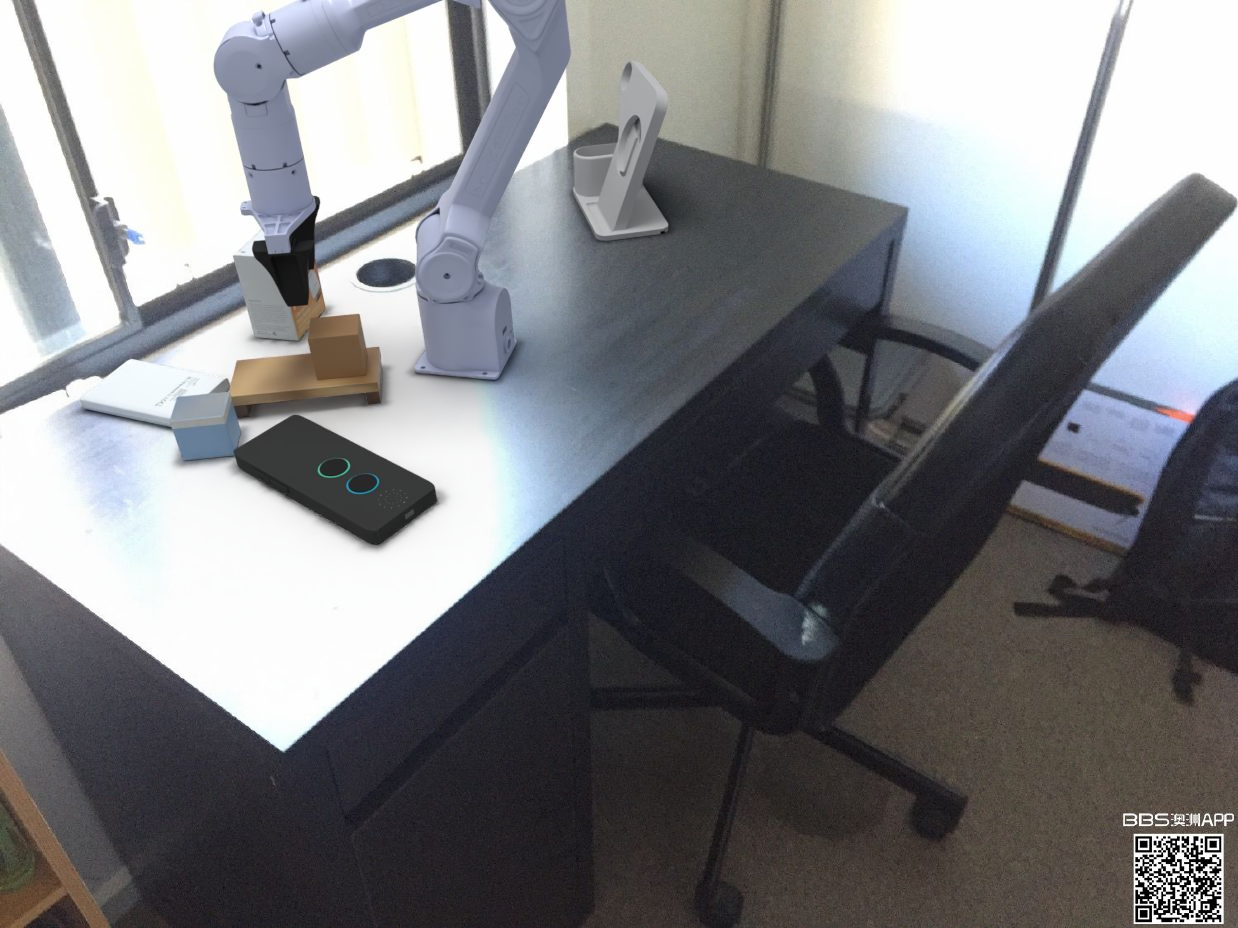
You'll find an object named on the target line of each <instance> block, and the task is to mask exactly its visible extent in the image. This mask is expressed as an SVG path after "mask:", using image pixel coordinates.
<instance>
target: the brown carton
mask: <svg viewBox="0 0 1238 928" xmlns="http://www.w3.org/2000/svg"><path fill="white" fill-rule="evenodd" d="M307 332H308V333H307V344H308V348H309V353H311V356H312V361H313V365H314V369H315V373H316V377H317V380H323V379H333V378H344V377H354V376H364V375H366V369H367V349H366V348H367V345H366V340H365V334H364V329H363V325H362V319H361V314H360V313H351V314H340V315H339V314H338V315H331V316H330V315H329V316H328V315H327V316H318V318H311V319H310V325H309V328H308V331H307Z"/></svg>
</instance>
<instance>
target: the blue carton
mask: <svg viewBox="0 0 1238 928" xmlns="http://www.w3.org/2000/svg"><path fill="white" fill-rule="evenodd" d="M238 419H239V418H237V416H236V412H235V409H234V406H233V402H232V399H231V395H230V392H229V391H227V392H220V393H210V394H200V395H190V396H180V397H177V399H176V402H175V405H174V409H173V412H172V415H171V418H170V421H169V422H170V424H171V427H170V428H171V430H172V433H173V436H174V438H175V441H176V444H177V447H178V450H179V453H180V456H181V458H182V461H184V462H185V461H194V460H202V459H203V460H205V459H214V458H222V457H231V456H235V455H234V450H235V449H237V448H238V447H239V446H238V445H239V441H240V437H241V432H242V429H241V425H240V422H239V420H238Z"/></svg>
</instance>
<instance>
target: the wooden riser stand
mask: <svg viewBox="0 0 1238 928" xmlns="http://www.w3.org/2000/svg"><path fill="white" fill-rule="evenodd" d="M366 349H367V369H366V375H364V376H354V377H344V378H333V379H323V380H317V377H316V373H315V369H314V365H313V361H312V356H311V352H309V353H300V354H299V353H298V354H289V355H279V356H267V357H258V358H257V357H256V358H248V359H238V360H236V362H235V366H234V370H233V373H232V378H231V382H230V388H229V389H228V392H230V395H231V399H232V402H233V406H234V409H235V412H236V416H237V419H240V418H246V417H247V418H248V417H250V415H251V410H252V406H253V405H256V404H257V405H258V404H268V403H275V402H276V403H278V402H287V401H296V400H307V399H316V398H327V397H336V396H345V395H347V396H348V395H356V394H365V395H364V396H365V400H366V404H367V405H376V404H382V392H383V391H382V389H383V370H384V369H383V365H382V354H381V347H380V346H371V347H366Z"/></svg>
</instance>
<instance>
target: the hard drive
mask: <svg viewBox="0 0 1238 928" xmlns="http://www.w3.org/2000/svg"><path fill="white" fill-rule="evenodd" d="M230 386H231V383H230V379H229V378H228V377H224V376H220V375H215V374H210V373H206V372H200V371H195V370H190V369H185V368H180V367H175V366H170V365H166V364H159V363H154V362H149V361H144V360H139V359H134V358H130V359H128V360H126V361H125V362H124V363H122V364H121V365H120V366H118V367H117V368H116V369H115V370H113V371H112V372H111V373H109V374H108V375H107V376H105V377H104V378H103V379H101V380H100V381H99V382H98V383H97V384H95V385H94V386H92V387H91V388H90V389H88V390H87V391H86V392H85V393H84V394H83V395H81V396H80V397H79V401H80V404H81V407H82V408H83V409H84V410H89V411H93V412H99V413H102V414H103V413H104V414H108V415H113V416H116V417H121V418H126V419H132V420H135V421H140V422H144V423H145V422H146V423H150V424H154V425H160V426H163V427H168V428H169V427H170V428H172V427H171V424H170V422H169V421H170V418H171V415H172V412H173V409H174V405H175V402H176V399H177V397H180V396H190V395H200V394H210V393H220V392H229V390H230Z"/></svg>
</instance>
